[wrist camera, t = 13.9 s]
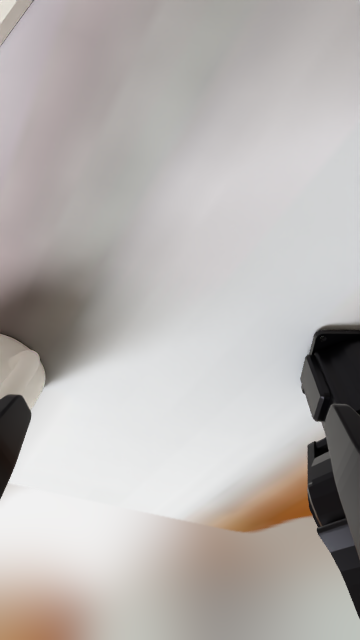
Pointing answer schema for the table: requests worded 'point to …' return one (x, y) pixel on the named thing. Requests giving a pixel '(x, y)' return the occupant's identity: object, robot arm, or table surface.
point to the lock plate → (11, 15)
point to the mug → (20, 371)
